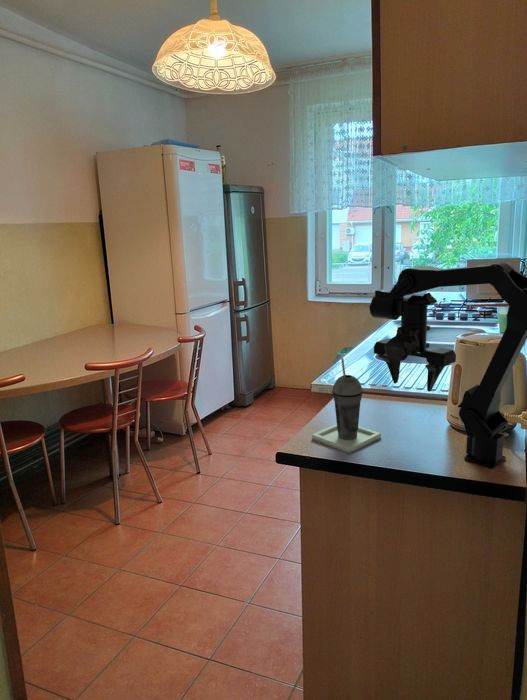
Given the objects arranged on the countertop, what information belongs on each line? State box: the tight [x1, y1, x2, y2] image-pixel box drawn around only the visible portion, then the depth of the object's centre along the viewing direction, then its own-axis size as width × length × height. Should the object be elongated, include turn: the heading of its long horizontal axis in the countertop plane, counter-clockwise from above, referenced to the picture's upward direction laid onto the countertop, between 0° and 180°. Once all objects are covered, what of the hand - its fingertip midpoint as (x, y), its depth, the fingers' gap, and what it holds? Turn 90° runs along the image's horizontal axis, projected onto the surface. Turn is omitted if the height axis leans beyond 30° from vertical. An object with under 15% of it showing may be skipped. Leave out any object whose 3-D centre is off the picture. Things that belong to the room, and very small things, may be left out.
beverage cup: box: [331, 357, 364, 440], centre depth 126 cm, size 7×7×20 cm
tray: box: [311, 423, 382, 455], centre depth 129 cm, size 12×12×1 cm
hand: (412, 386), depth 124 cm, fingers open, 9 cm apart
